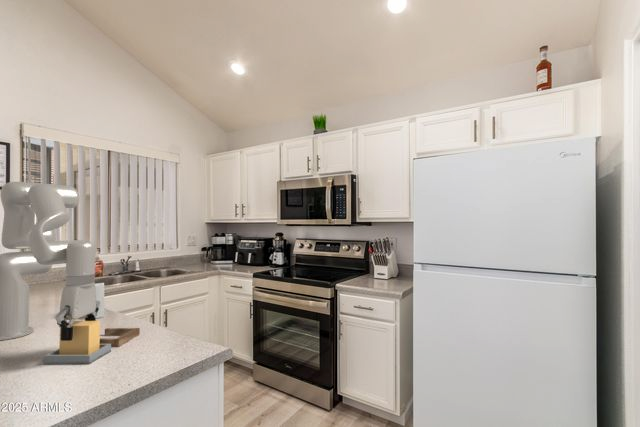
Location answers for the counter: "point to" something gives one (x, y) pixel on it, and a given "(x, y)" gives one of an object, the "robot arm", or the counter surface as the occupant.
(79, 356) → the grey tray
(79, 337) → the yellow block
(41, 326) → the counter surface
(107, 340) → the walnut bay
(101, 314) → the skincare box
